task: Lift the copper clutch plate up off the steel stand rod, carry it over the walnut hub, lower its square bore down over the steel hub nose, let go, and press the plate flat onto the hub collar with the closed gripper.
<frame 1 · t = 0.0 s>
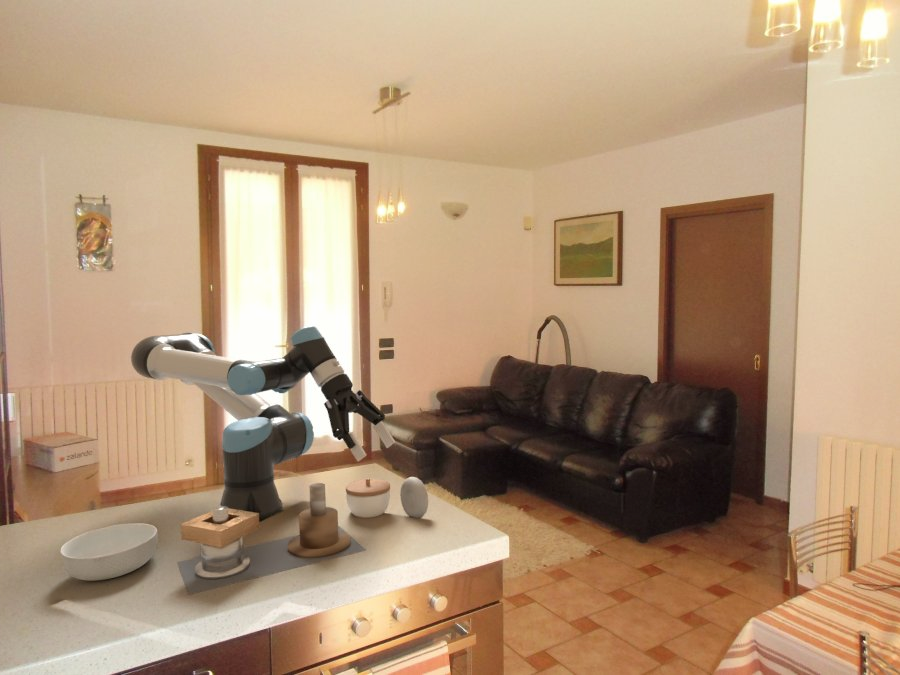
hand: (377, 451, 148), 15 cm above the table, tool tilted 35°, fingers open, 13 cm apart
steel stand: (223, 567, 117), resting on rubber mat
grey piece: (414, 519, 145), on the table
rubber mat: (273, 561, 122), on the table
lidded jar: (369, 517, 147), on the table
cereal bowl: (112, 574, 119), on the table
walnut hub: (319, 544, 127), resting on rubber mat
clutch plate: (221, 533, 117), point 8 cm above the table, touching steel stand
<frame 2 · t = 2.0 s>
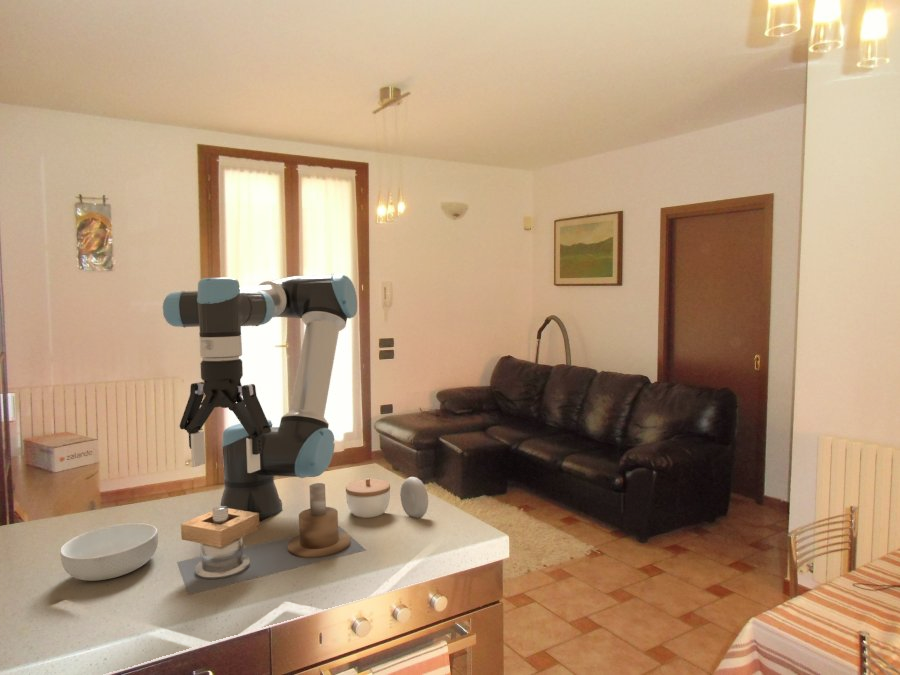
hand: (225, 468, 116), 21 cm above the table, tool pointing down, fingers open, 13 cm apart
nothing on the table moved.
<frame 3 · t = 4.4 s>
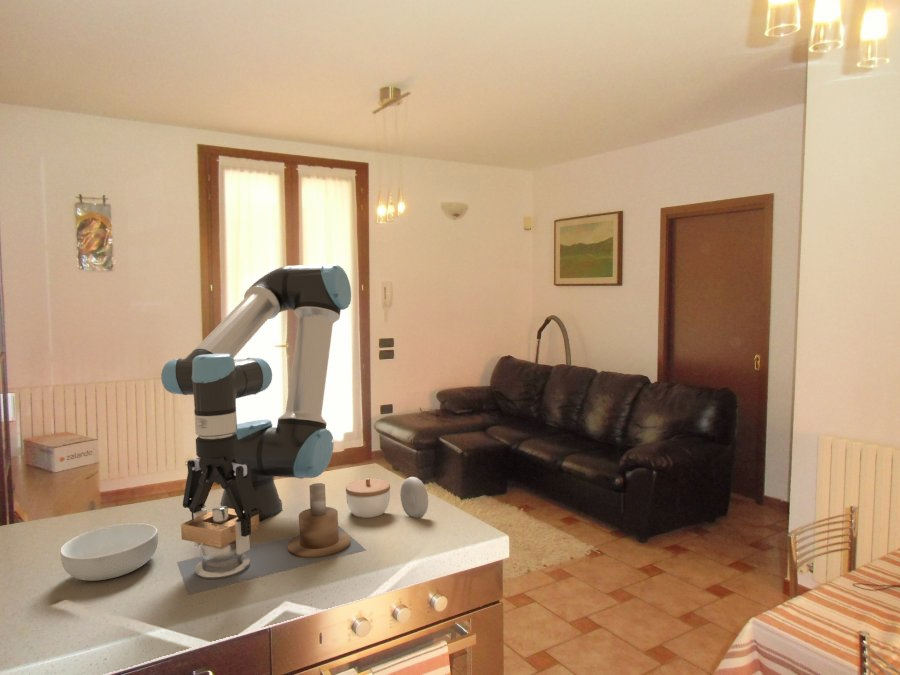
hand: (222, 547, 117), 5 cm above the table, tool pointing down, fingers closed on clutch plate, 10 cm apart
clutch plate: (221, 533, 117), point 8 cm above the table, touching gripper, steel stand
everything else where it was.
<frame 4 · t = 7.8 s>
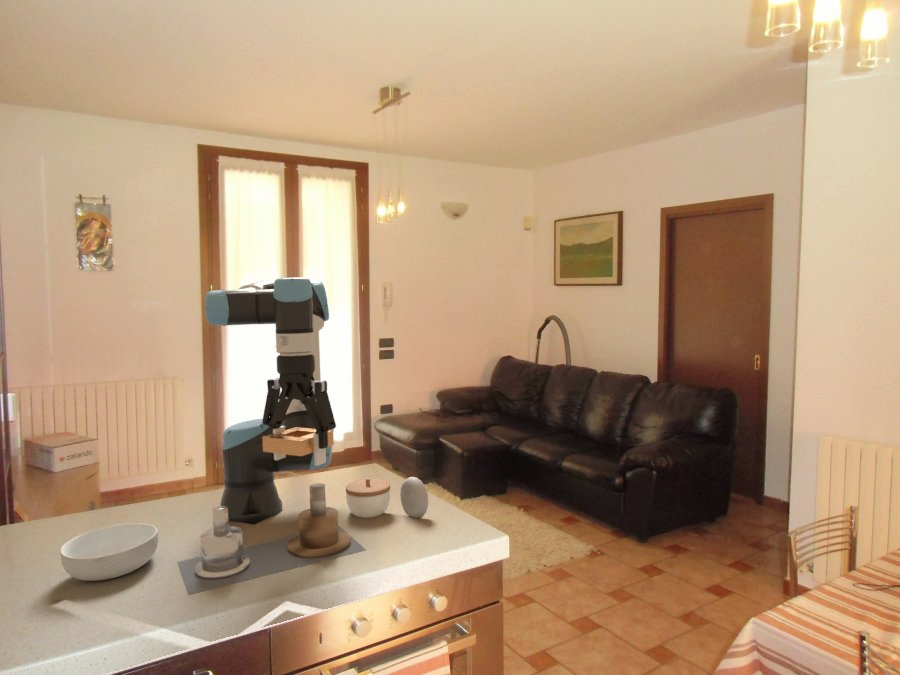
hand: (299, 461, 124), 20 cm above the table, tool pointing down, fingers closed on clutch plate, 10 cm apart
clutch plate: (298, 448, 124), point 23 cm above the table, touching gripper
everything else where it was.
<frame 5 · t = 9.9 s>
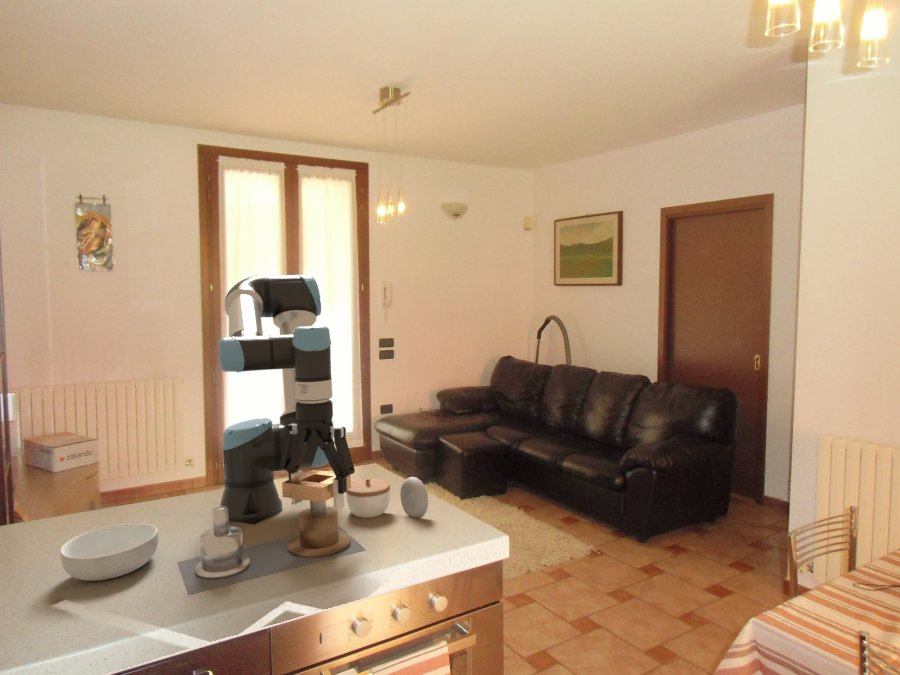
hand: (318, 505, 126), 10 cm above the table, tool pointing down, fingers closed on clutch plate, 10 cm apart
clutch plate: (317, 492, 126), point 13 cm above the table, touching gripper
everything else where it was.
when the fingers open (7 cm above the table, at t = 11.5 s): clutch plate drops 1 cm, resting on walnut hub.
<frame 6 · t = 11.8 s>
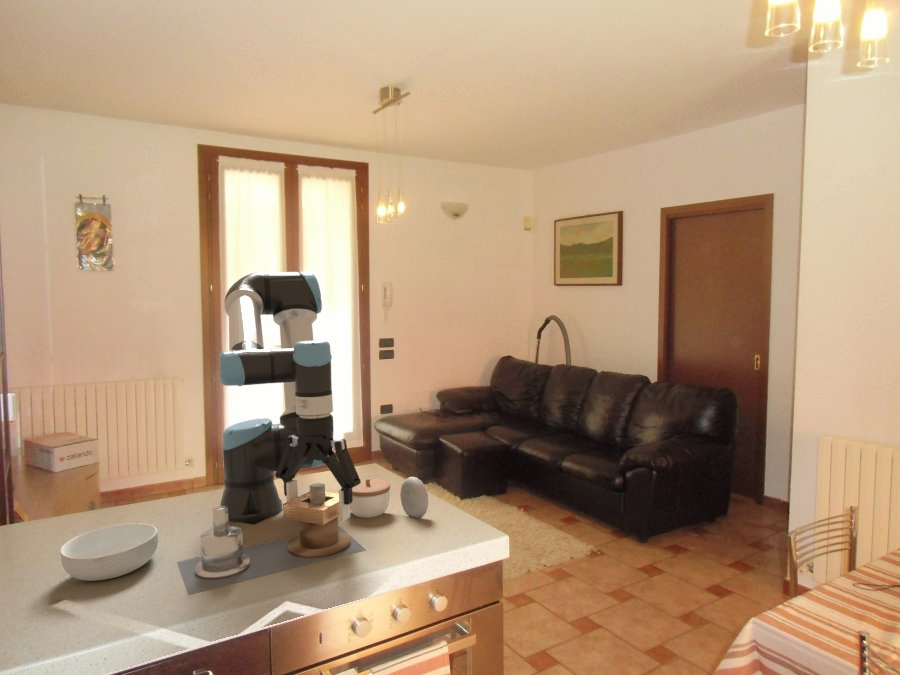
hand: (318, 515, 127), 8 cm above the table, tool pointing down, fingers open, 13 cm apart
clutch plate: (318, 513, 127), point 8 cm above the table, touching walnut hub
everything else where it was.
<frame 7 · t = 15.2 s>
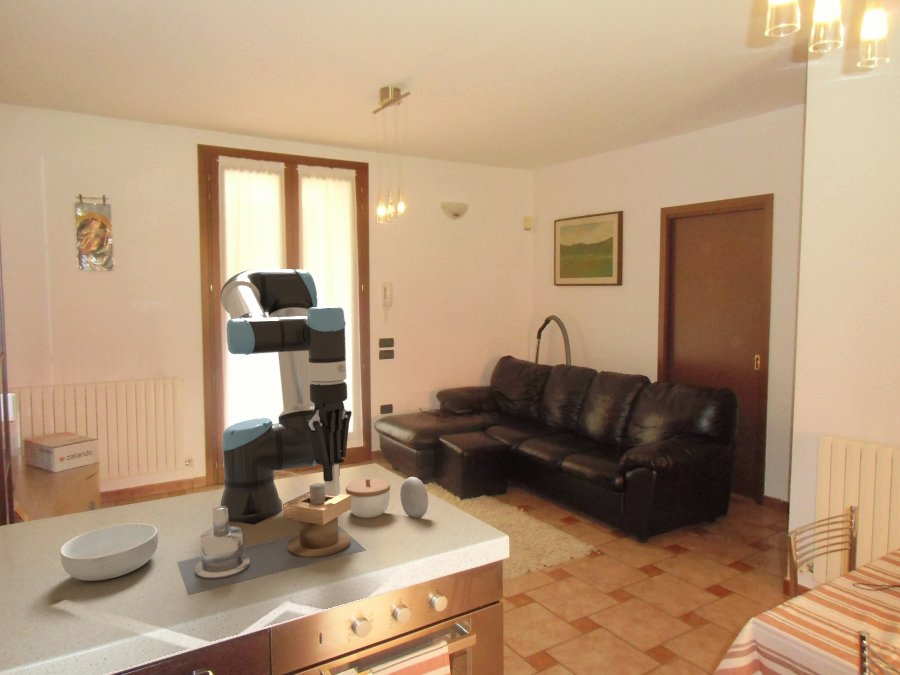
hand: (332, 494, 125), 12 cm above the table, tool pointing down, fingers closed
nothing on the table moved.
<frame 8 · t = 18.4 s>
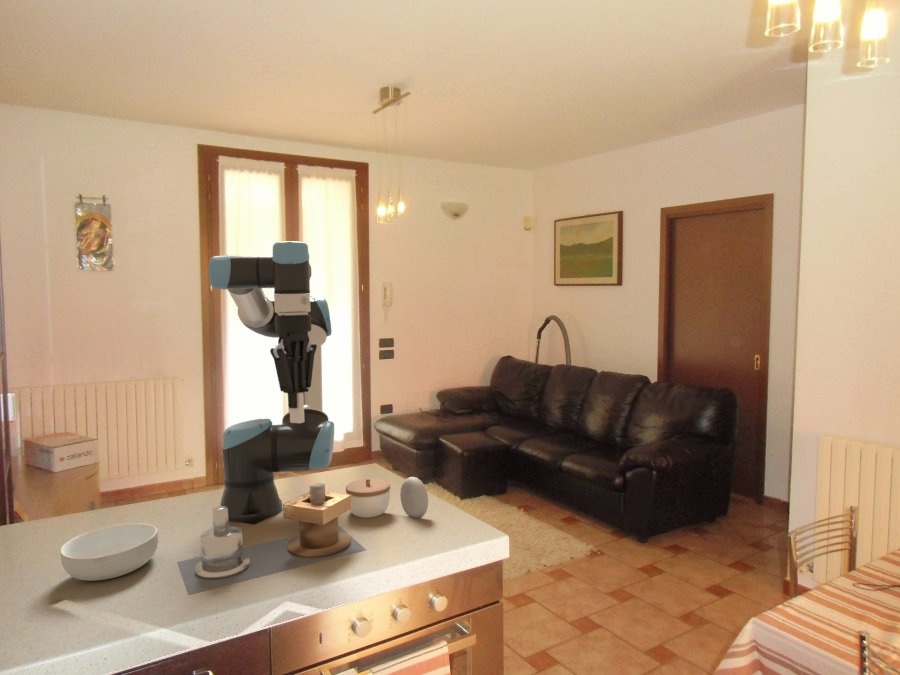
hand: (297, 422, 131), 26 cm above the table, tool pointing down, fingers closed
nothing on the table moved.
at the end: clutch plate 0.0 cm off-centre on the walnut hub, point 6.8 cm above the walnut hub's base; clutch plate tilted 0°; the gripper is holding nothing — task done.
